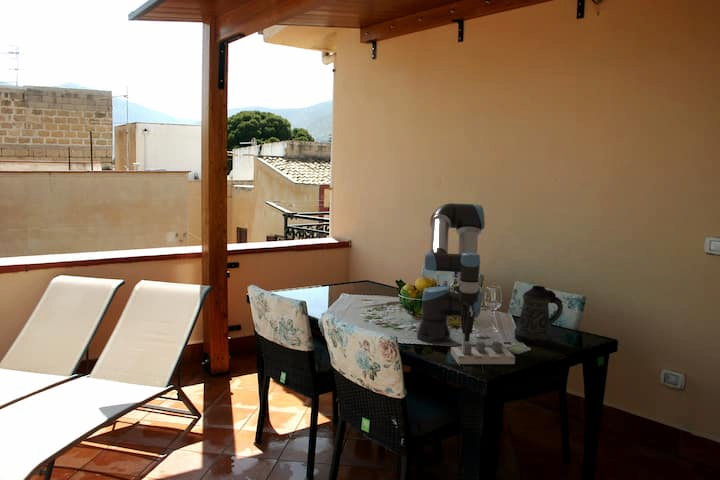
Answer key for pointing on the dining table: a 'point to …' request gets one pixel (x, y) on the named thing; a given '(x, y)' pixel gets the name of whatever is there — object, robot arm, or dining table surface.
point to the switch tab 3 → (497, 347)
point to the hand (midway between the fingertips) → (465, 348)
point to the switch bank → (483, 356)
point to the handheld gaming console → (514, 347)
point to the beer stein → (537, 316)
